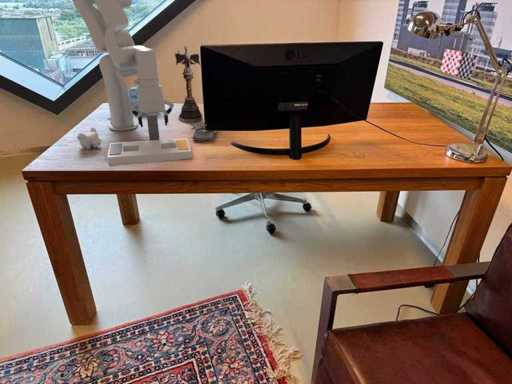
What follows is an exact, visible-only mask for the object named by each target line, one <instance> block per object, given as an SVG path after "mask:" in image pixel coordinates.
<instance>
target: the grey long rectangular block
mask: <svg viewBox="0 0 512 384" xmlns="http://www.w3.org/2000/svg"><path fill="white" fill-rule="evenodd" d="M158 121H159V120H158V113H146V122H147V128H148V129H147V130H148V139H149V140H161V139H160V130H159V122H158Z"/></svg>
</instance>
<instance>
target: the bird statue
mask: <svg viewBox="0 0 512 384" xmlns="http://www.w3.org/2000/svg"><path fill="white" fill-rule="evenodd" d="M180 51H181V50H180V49H179V48H177V51H176V52H174V57H175V62H176V63H175V65H176V66H177V65H178V64H181V65H184V69H183V72H182V75H183V79H184V80H185V82H186V83H185V89H186V94H187V95H186V97H184V103H183V105H182V107H181V109H180V110H181V111H180V113H179V115H178V121H179V122H182V123H185V124H186V123H189V124H193V123H199V122H201V120H203V114H202V113H201V110H200V106H199V105H198V104H197V102H196V100H195V98H194V96H193V91H192V90H193V87H192V80H193V79H194V72H193V70H192V68H191V65H196V64H198V65H200V66H201V62H200V54H199V53H197V52H195V53H189V47H188V46H187V45H184V52H185V53H180Z"/></svg>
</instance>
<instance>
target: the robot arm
mask: <svg viewBox="0 0 512 384" xmlns="http://www.w3.org/2000/svg"><path fill="white" fill-rule="evenodd" d="M132 3H133V1H132V0H72V4H73V6H74V8H75V9H76V11H77V12H78V14H79V15H80V17H81V18H82V21H84V24H85V26H86V29H87V30H88V33H89V36H90V38H91V40H92V42H93V45H94V47H95V49H96V51H97V52H98V53H101V54H105V55H103V56H101V57H100V59H99V62H98V65H99V69H100V72H101V75H102V78H103V81H104V85H105V92H106V96H107V102H108V109H109V113H110V114H109V115H108V116H107V117H106V120H108V121H109V124H108V128H109V129H110V130H111V131H115V132H125V131H130V130H131V131H132V130H134V129H136V128H137V127H138V126H139V125H140V128H143V127H144V125H143V117H142V114H147V113H157V114H159V113H163V117H164V119H163V120H164V125H165V126H167V127H168V123H169V115H170V114H171V112H172V111H173V109H174V106H175V104H174V103H173V102H171V101H168V100H167V99H164V98H165V97H164V93H163V89H162V86H161V84H159V75H158V74H159V73H158V66H157V58H156V57H157V55H156V52H155V50H154V49H153V48H149V47H147V46H146V47H145V46H143V45H136V44H135V42H134V40H133V38H132V35H131V34H130V32H129V31H128V30H127V29H126V28H127V27H128V26H129V22H130V20H129V18H128V16H127V14H126V12H125V9H130V8H131V7H132ZM94 5H96V6H97V7H95V6H94ZM132 76H137V79H135V80H134V84H135V85H138V86H136V87H137V102H135V103H133V104H132V105H131V99H130V92H129V90H130V86H129V85H128V84H127V83H126V81H124V79H123V78H125V77H132ZM166 105H167V106H169V107H168V108H167V109H166ZM136 106H138V109H139V111H138V112H136V111H135V110H134V107H136ZM134 116H135V117H137V121H138V122H137V121H135V120H134Z"/></svg>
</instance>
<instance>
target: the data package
mask: <svg viewBox="0 0 512 384" xmlns="http://www.w3.org/2000/svg"><path fill="white" fill-rule="evenodd" d="M137 87H138V86H132V87H131V88H129V92H130V99H131V105H132V104H133V103H135V102H137ZM134 110H135V111H136V112H138V111H139V109H138V106H136V107H134Z"/></svg>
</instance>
